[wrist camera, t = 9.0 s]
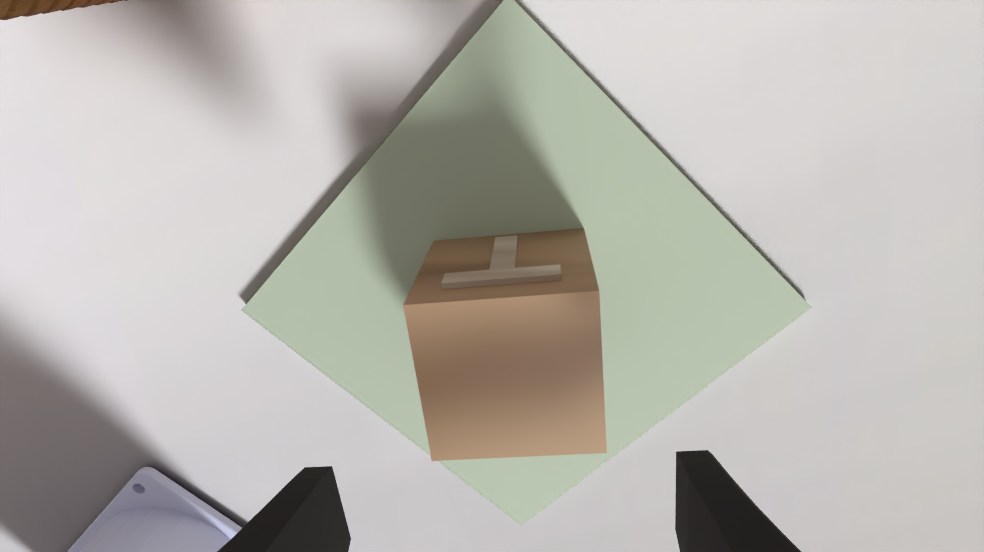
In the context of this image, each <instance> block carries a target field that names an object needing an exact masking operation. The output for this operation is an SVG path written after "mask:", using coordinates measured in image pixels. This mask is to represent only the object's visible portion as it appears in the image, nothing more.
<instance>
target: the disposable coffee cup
mask: <svg viewBox="0 0 984 552" xmlns="http://www.w3.org/2000/svg"><path fill="white" fill-rule="evenodd" d="M118 1H122V0H0V20H8V19H12V18H16V17H19V16H27V17H28V16H32V15H36V14H39V13H43V14H45V13H50V12H54V11H58V10H62V11H64V10H69V9H73V8H77V7H82V8H84V7H88V6H91V5H100V4H105V3H114V2H118ZM126 1H127V0H126Z"/></svg>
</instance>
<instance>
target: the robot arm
mask: <svg viewBox="0 0 984 552" xmlns="http://www.w3.org/2000/svg"><path fill="white" fill-rule="evenodd" d="M675 529H676V534H677V539H678V543H679V548H680V552H801V551H800V550H799V549H798V548H797V547H796V546H795V545H794V544H793V543H792V542H791V541H790V540H789V539H788V538H787V537H786V536H785V535H784V534H783V533H782V532H781V531H780V530H779V529H778V528H777V527H776V526H775V525H774V524H773V523H772V522H771V521H770V520H769V518H768V517H767V516H766V515H765V514H764V513H763V512H762V511H761V510H760V509H759V508H758V507H757V506H756V505H755V504H754V502H753V501H752V500H751V499H750V498H749V497H748V496H747V495H746V494H745V492H744V491H743V490H742V489H741V488H740V487H739V486H738V484H737V483H736V482H735V481H734V480H733V479H732V477H731V476H730V475H729V474H728V473H727V472H726V470H725V469H724V468H723V467H722V466H721V464H720V463H719V462H718V461H717V459H716V458H715V457H714V456H713V455H712V454H711V453H710V452H709V451H708V450H704V451H681V452H676V526H675ZM350 540H351V537H350V534H349V530H348V526H347V522H346V518H345V514H344V511H343V507H342V503H341V499H340V495H339V491H338V488H337V484H336V480H335V476H334V472H333V468H332V466H330V467H306V468H304V469H303V470H302V471H301V472H299V473H298V474H297V475H296V476H295V477H294V478H293V479H292V480H291V481H290V482H289V483H288V484H287V485H286V486H285V487H284V488H283V489H282V490H281V491H280V492H279V493H278V494H277V495H276V496H275V497H274V498H273V499H272V500H271V501H270V502H269V503H268V504H267V505H266V506H265V507H264V508H263V509H262V510H261V511H260V512H259V513H258V514H257V515H255V516H254V517H253V518H252V519H251V520H250V521H249V522H248V523H247V524H246V525H245V526H244V527H243V528H242V527H240V526H239V525H237V524H236V523H234V522H233V521H231V520H230V519H228V518H227V517H226V516H224V515H223V514H221V513H220V512H218V511H217V510H215V509H214V508H212V507H211V506H209V505H208V504H206V503H205V502H203V501H202V500H200V499H199V498H197V497H196V496H194V495H193V494H191V493H190V492H188V491H187V490H185V489H184V488H182V487H181V486H179V485H178V484H176V483H175V482H173V481H172V480H170V479H169V478H167V477H166V476H165V475H163V474H162V473H160V472H159V471H157V470H156V469H154V468H151V467H142V468H141V469H139V470H138V471H137V473H136V474H135V475H134V476H133V477H132V478H131V479H130V481H129V482H128V483H127V484H126V485H125V486H124V487H123V489H122V490H121V491H120V492H119V493H118V494H117V495H116V496H115V498H114V499H113V500H112V501H111V502H110V503H109V504H108V506H107V507H106V508H105V509H104V510H103V511H102V512H101V514H100V515H99V516H98V517H97V518H96V519H95V520H94V522H93V523H92V524H91V525H90V526H89V527H88V528H87V530H86V531H85V532H84V533H83V534H82V535H81V536H80V537H79V539H78V540H77V541H76V542H75V543H74V544H73V545H72V547H71V548H70V549H69V550H68V551H67V552H348V550H349V545H350Z"/></svg>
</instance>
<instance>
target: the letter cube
mask: <svg viewBox="0 0 984 552" xmlns="http://www.w3.org/2000/svg"><path fill="white" fill-rule="evenodd" d="M403 307H404V313H405V318H406V324H407V329H408V334H409V340H410V345H411V351H412V356H413V361H414V367H415V372H416V378H417V383H418V389H419V394H420V399H421V405H422V410H423V416H424V421H425V426H426V432H427V437H428V443H429V448H430V454H431V459H432V461H442V460H464V459H486V458H508V457H530V456H552V455H574V454H596V453H607V446H606V424H605V402H604V381H603V359H602V337H601V316H600V294H599V287H598V283H597V279H596V275H595V271H594V267H593V263H592V259H591V254H590V250H589V246H588V242H587V238H586V234H585V230H584V228H579V229H567V230H555V231H543V232H531V233H519V234H507V235H495V236H483V237H471V238H460V239H448V240H436V241H433V243H432V245H431V247H430V249H429V251H428V253H427V255H426V258H425V260H424V262H423V264H422V266H421V268H420V270H419V272H418V275H417V277H416V279H415V281H414V283H413V285H412V287H411V289H410V292H409V294H408V296H407V298H406V300H405V302H404V304H403Z"/></svg>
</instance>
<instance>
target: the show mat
mask: <svg viewBox="0 0 984 552" xmlns="http://www.w3.org/2000/svg"><path fill="white" fill-rule="evenodd" d="M579 228H584V230H585V234H586V238H587V242H588V246H589V250H590V254H591V259H592V263H593V267H594V271H595V275H596V279H597V283H598V287H599V294H600V316H601V337H602V359H603V381H604V402H605V424H606V446H607V453H596V454H574V455H552V456H530V457H508V458H486V459H464V460H442V461H438V462H439V463H441V464H442V465H443V466H445V467H446V468H447V469H448V470H450V471H451V472H452V473H454V474H455V475H456V476H458V477H459V478H460V479H461V480H463V481H464V482H465V483H467V484H468V485H469V486H471V487H472V488H473V489H474V490H476V491H477V492H478V493H480V494H481V495H482V496H484V497H485V498H486V499H487V500H489V501H490V502H491V503H493V504H494V505H495V506H497V507H498V508H499V509H500V510H502V511H503V512H504V513H506V514H507V515H508V516H510V517H511V518H512V519H514V520H515V521H516V522H517V523H519V524H520V525H521V526H522V525H523V524H525V523H526V522H527V521H529V520H530V519H531V518H533V517H534V516H535V515H537V514H538V513H539V512H541V511H542V510H543V509H544V508H546V507H547V506H548V505H550V504H551V503H552V502H554V501H555V500H556V499H558V498H559V497H560V496H562V495H563V494H564V493H566V492H567V491H568V490H570V489H571V488H572V487H574V486H575V485H576V484H578V483H579V482H580V481H582V480H583V479H584V478H586V477H587V476H588V475H590V474H591V473H592V472H594V471H595V470H596V469H598V468H599V467H600V466H602V465H603V464H604V463H606V462H607V461H608V460H610V459H611V458H612V457H614V456H615V455H616V454H618V453H619V452H620V451H622V450H623V449H624V448H626V447H627V446H628V445H630V444H631V443H632V442H634V441H635V440H636V439H637V438H639V437H640V436H641V435H643V434H644V433H645V432H647V431H648V430H649V429H651V428H652V427H653V426H655V425H656V424H657V423H659V422H660V421H661V420H663V419H664V418H665V417H667V416H668V415H669V414H671V413H672V412H673V411H675V410H676V409H677V408H679V407H680V406H681V405H683V404H684V403H685V402H687V401H688V400H689V399H691V398H692V397H693V396H695V395H696V394H697V393H699V392H700V391H701V390H703V389H704V388H705V387H707V386H708V385H709V384H711V383H712V382H713V381H715V380H716V379H717V378H719V377H720V376H721V375H723V374H724V373H725V372H727V371H728V370H729V369H730V368H732V367H733V366H734V365H736V364H737V363H738V362H740V361H741V360H742V359H744V358H745V357H746V356H748V355H749V354H750V353H752V352H753V351H754V350H756V349H757V348H758V347H760V346H761V345H762V344H764V343H765V342H766V341H768V340H769V339H770V338H772V337H773V336H774V335H776V334H777V333H778V332H780V331H781V330H782V329H784V328H785V327H786V326H788V325H789V324H790V323H792V322H793V321H794V320H796V319H797V318H798V317H800V316H801V315H802V314H804V313H805V312H806V311H808V310H809V309H810V308H812V307H811V306H810V305H809V304H808V303H807V302H806V301H805V300H804V299H803V298H802V297H801V295H800V294H799V293H798V292H797V291H796V290H795V289H794V288H793V287H792V286H791V285H790V284H789V283H788V282H787V281H786V280H785V279H784V278H783V277H782V276H781V275H780V274H779V273H778V272H777V271H776V270H775V269H774V268H773V267H772V266H771V265H770V263H769V262H768V261H767V260H766V259H765V258H764V257H763V256H762V255H761V254H760V253H759V252H758V251H757V250H756V249H755V248H754V247H753V246H752V245H751V244H750V243H749V242H748V241H747V240H746V239H745V238H744V237H743V236H742V235H741V234H740V233H739V231H738V230H737V229H736V228H735V227H734V226H733V225H732V224H731V223H730V222H729V221H728V220H727V219H726V218H725V217H724V216H723V215H722V214H721V213H720V212H719V211H718V210H717V209H716V208H715V207H714V206H713V205H712V204H711V203H710V202H709V201H708V200H707V198H706V197H705V196H704V195H703V194H702V193H701V192H700V191H699V190H698V189H697V188H696V187H695V186H694V185H693V184H692V183H691V182H690V181H689V180H688V179H687V178H686V177H685V176H684V175H683V174H682V173H681V172H680V171H679V170H678V169H677V168H676V166H675V165H674V164H673V163H672V162H671V161H670V160H669V159H668V158H667V157H666V156H665V155H664V154H663V153H662V152H661V151H660V150H659V149H658V148H657V147H656V146H655V145H654V144H653V143H652V142H651V141H650V140H649V139H648V138H647V137H646V136H645V135H644V133H643V132H642V131H641V130H640V129H639V128H638V127H637V126H636V125H635V124H634V123H633V122H632V121H631V120H630V119H629V118H628V117H627V116H626V115H625V114H624V113H623V112H622V111H621V110H620V109H619V108H618V107H617V106H616V105H615V104H614V103H613V101H612V100H611V99H610V98H609V97H608V96H607V95H606V94H605V93H604V92H603V91H602V90H601V89H600V88H599V87H598V86H597V85H596V84H595V83H594V82H593V81H592V80H591V79H590V78H589V77H588V76H587V75H586V74H585V73H584V72H583V71H582V69H581V68H580V67H579V66H578V65H577V64H576V63H575V62H574V61H573V60H572V59H571V58H570V57H569V56H568V55H567V54H566V53H565V52H564V51H563V50H562V49H561V48H560V47H559V46H558V45H557V44H556V43H555V42H554V41H553V40H552V39H551V38H550V36H549V35H548V34H547V33H546V32H545V31H544V30H543V29H542V28H541V27H540V26H539V25H538V24H537V23H536V22H535V21H534V20H533V19H532V18H531V17H530V16H529V15H528V14H527V13H526V12H525V11H524V10H523V9H522V8H521V7H520V6H519V4H518V3H517V2H516V1H515V0H503V1H502V3H501V4H500V5H499V6H498V7H497V9H496V10H495V11H494V12H493V13H492V14H491V16H490V17H489V18H488V19H487V20H486V22H485V23H484V24H483V25H482V26H481V27H480V29H479V30H478V31H477V32H476V33H475V35H474V36H473V37H472V38H471V39H470V40H469V42H468V43H467V44H466V45H465V46H464V48H463V49H462V50H461V51H460V52H459V53H458V55H457V56H456V57H455V58H454V59H453V61H452V62H451V63H450V64H449V65H448V66H447V68H446V69H445V70H444V71H443V72H442V74H441V75H440V76H439V77H438V78H437V79H436V81H435V82H434V83H433V84H432V85H431V87H430V88H429V89H428V90H427V91H426V92H425V94H424V95H423V96H422V97H421V98H420V100H419V101H418V102H417V103H416V104H415V105H414V107H413V108H412V109H411V110H410V111H409V113H408V114H407V115H406V116H405V117H404V118H403V120H402V121H401V122H400V123H399V124H398V126H397V127H396V128H395V129H394V130H393V131H392V133H391V134H390V135H389V136H388V137H387V139H386V140H385V141H384V142H383V143H382V144H381V146H380V147H379V148H378V149H377V150H376V152H375V153H374V154H373V155H372V156H371V157H370V159H369V160H368V161H367V162H366V163H365V165H364V166H363V167H362V168H361V169H360V170H359V172H358V173H357V174H356V175H355V176H354V178H353V179H352V180H351V181H350V182H349V183H348V185H347V186H346V187H345V188H344V189H343V191H342V192H341V193H340V194H339V195H338V196H337V198H336V199H335V200H334V201H333V202H332V204H331V205H330V206H329V207H328V208H327V209H326V211H325V212H324V213H323V214H322V215H321V217H320V218H319V219H318V220H317V221H316V222H315V224H314V225H313V226H312V227H311V228H310V230H309V231H308V232H307V233H306V234H305V235H304V237H303V238H302V239H301V240H300V241H299V243H298V244H297V245H296V246H295V247H294V248H293V250H292V251H291V252H290V253H289V254H288V256H287V257H286V258H285V259H284V260H283V261H282V263H281V264H280V265H279V266H278V267H277V269H276V270H275V271H274V272H273V273H272V274H271V276H270V277H269V278H268V279H267V280H266V282H265V283H264V284H263V285H262V286H261V287H260V289H259V290H258V291H257V292H256V293H255V295H254V296H253V297H252V298H251V299H250V300H249V302H248V303H247V304H246V305H245V306H244V308H243V309H242V311H243V312H244V313H245V314H247V315H248V316H249V317H251V318H252V319H253V320H255V321H256V322H257V323H258V324H260V325H261V326H262V327H264V328H265V329H266V330H268V331H269V332H270V333H271V334H273V335H274V336H275V337H277V338H278V339H279V340H281V341H282V342H283V343H285V344H286V345H287V346H288V347H290V348H291V349H292V350H294V351H295V352H296V353H298V354H299V355H300V356H301V357H303V358H304V359H305V360H307V361H308V362H309V363H311V364H312V365H313V366H314V367H316V368H317V369H318V370H320V371H321V372H322V373H324V374H325V375H326V376H327V377H329V378H330V379H331V380H333V381H334V382H335V383H337V384H338V385H339V386H340V387H342V388H343V389H344V390H346V391H347V392H348V393H350V394H351V395H352V396H353V397H355V398H356V399H357V400H359V401H360V402H361V403H363V404H364V405H365V406H366V407H368V408H369V409H370V410H372V411H373V412H374V413H376V414H377V415H378V416H379V417H381V418H382V419H383V420H385V421H386V422H387V423H389V424H390V425H391V426H392V427H394V428H395V429H396V430H398V431H399V432H400V433H402V434H403V435H404V436H406V437H407V438H408V439H409V440H411V441H412V442H413V443H415V444H416V445H417V446H419V447H420V448H421V449H422V450H424V451H425V452H426V453H428V454H429V455H430V456H431V454H430V448H429V443H428V437H427V432H426V426H425V421H424V416H423V410H422V405H421V399H420V394H419V389H418V383H417V378H416V372H415V367H414V361H413V356H412V351H411V345H410V340H409V334H408V329H407V324H406V318H405V313H404V307H403V304H404V302H405V300H406V298H407V296H408V294H409V292H410V289H411V287H412V285H413V283H414V281H415V279H416V277H417V275H418V272H419V270H420V268H421V266H422V264H423V262H424V260H425V258H426V255H427V253H428V251H429V249H430V247H431V245H432V243H433V241H436V240H448V239H460V238H471V237H483V236H495V235H507V234H519V233H531V232H543V231H555V230H567V229H579Z"/></svg>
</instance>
